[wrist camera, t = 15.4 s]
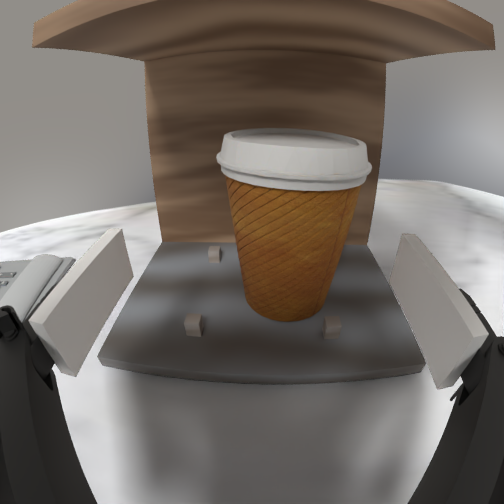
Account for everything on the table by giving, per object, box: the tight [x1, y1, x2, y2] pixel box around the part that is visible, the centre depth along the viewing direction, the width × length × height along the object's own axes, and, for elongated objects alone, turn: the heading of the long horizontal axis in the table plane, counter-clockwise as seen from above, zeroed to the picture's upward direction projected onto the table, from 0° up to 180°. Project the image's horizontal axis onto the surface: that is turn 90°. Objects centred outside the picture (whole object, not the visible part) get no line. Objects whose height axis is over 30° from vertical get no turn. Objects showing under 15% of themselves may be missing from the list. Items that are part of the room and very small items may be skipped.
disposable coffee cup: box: [216, 128, 372, 322], centre depth 19 cm, size 10×10×12 cm
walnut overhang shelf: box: [32, 0, 495, 384], centre depth 18 cm, size 18×22×22 cm
